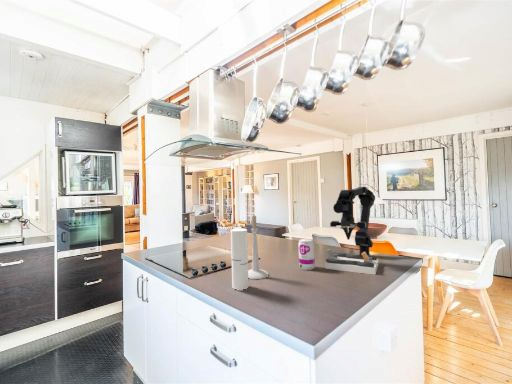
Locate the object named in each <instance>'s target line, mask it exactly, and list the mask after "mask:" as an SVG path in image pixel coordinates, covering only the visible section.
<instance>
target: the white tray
mask: <svg viewBox="0 0 512 384" xmlns="http://www.w3.org/2000/svg"><path fill="white" fill-rule="evenodd" d="M334 256H335V257H330V256H329V255H328V258H327V259H337V260H352V261H360V262H367V263H373V264H374V267H366V266H358V265H351V264H337V263H328V262H326V261H325V262H324V263H325V264H324V267H325V268H324V269H326V270H333V271H334V270H336V271H342V272H351V273H360V274H366V275H367V274H368V275H376V273H377V271H378V268H379V259H378V258H377V259H376V260H372V257H369V259H370V260H364V259H356V258H347V257H339V256H337V254H334Z"/></svg>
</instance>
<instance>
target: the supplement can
mask: <svg viewBox="0 0 512 384" xmlns="http://www.w3.org/2000/svg"><path fill="white" fill-rule="evenodd" d="M315 261H316V259H315V242H314V239H311V238H301V239H299V241H298V265H299V268H300V270H305V271H312V270H314V269H315V268H316V265H315V264H316V262H315Z"/></svg>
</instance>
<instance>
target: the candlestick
mask: <svg viewBox="0 0 512 384" xmlns="http://www.w3.org/2000/svg"><path fill="white" fill-rule="evenodd" d="M251 220H252V221H251V222H252V223H251V226H252V228H250V230H251V233H252V249H251V250H252V251H251V253H252V254H251V268H250V269H248V278H249V279H248V280H250V279H259V280H263V279H262V278H264V279H267V278H268V277H269V276H270V275H269V272H268V271H267V270H265V269H261V268H260V263H259V250H258V238H257V237H258V236H257V234H258V231H259V229H258V228H257V216H256V215H252V216H251ZM268 275H269V276H268ZM267 276H268V277H267ZM266 277H267V278H266Z"/></svg>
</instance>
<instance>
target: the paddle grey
mask: <svg viewBox="0 0 512 384" xmlns="http://www.w3.org/2000/svg"><path fill="white" fill-rule="evenodd" d="M326 253H327V255H328V257H329V256H330V257H335V256H334V252H333V250H332V248H328V249H327V250H326Z"/></svg>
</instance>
